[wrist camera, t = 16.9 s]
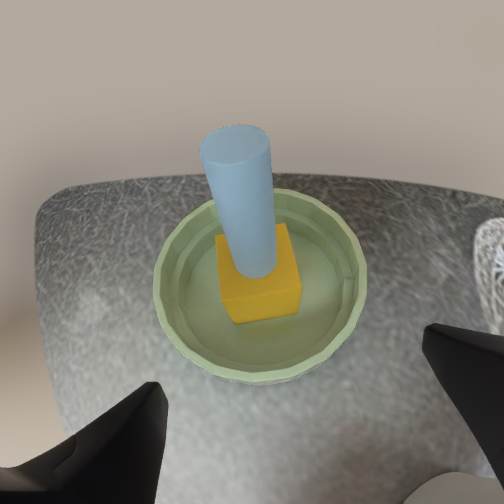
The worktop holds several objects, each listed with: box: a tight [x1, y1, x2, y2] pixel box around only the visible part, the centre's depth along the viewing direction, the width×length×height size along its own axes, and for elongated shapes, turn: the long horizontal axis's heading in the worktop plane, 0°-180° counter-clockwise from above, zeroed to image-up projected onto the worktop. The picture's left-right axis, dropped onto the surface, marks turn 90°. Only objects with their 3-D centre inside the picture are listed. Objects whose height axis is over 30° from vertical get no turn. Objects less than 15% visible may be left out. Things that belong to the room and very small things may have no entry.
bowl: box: [152, 188, 367, 386], centre depth 21 cm, size 15×15×4 cm
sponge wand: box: [199, 125, 302, 325], centre depth 16 cm, size 5×5×14 cm
